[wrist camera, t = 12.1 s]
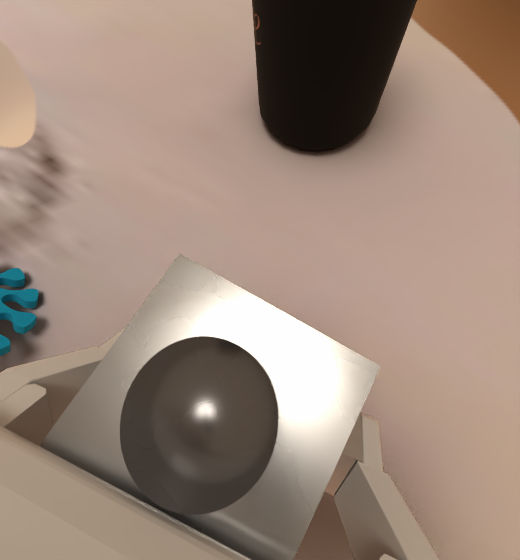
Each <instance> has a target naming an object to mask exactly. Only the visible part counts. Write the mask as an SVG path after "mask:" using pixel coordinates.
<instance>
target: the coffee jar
mask: <svg viewBox="0 0 520 560" xmlns="http://www.w3.org/2000/svg"><path fill="white" fill-rule="evenodd" d="M416 1H417V0H252V6H253V21H254V36H255V51H256V65H257V80H258V95H259V106H260V112H261V116H262V118H263V120H264V121H265V123H266V125H267V126H268V128H269V129H270V131H271V132H272V133H274V135H275V136H276V137H277V138H279V139H280V140H281V141H282V142H284V143H285V144H287V145H289V146H292V147H294V148H297V149H299V150H306V151H315V152H318V151H325V150H332V149H335V148H337V147H340V146H342V145H344V144H347V143H348V142H349V141H351V140H353V139H354V138H355V137H356V136H358V135H359V134H360V133H361V132H362V131H364V130H365V129H366V128H367V127H368V125H369V123H370V122H371V120H372V118H373V116H374V115H375V113H376V110H377V107H378V105H379V102H380V99H381V96H382V94H383V91H384V88H385V86H386V83H387V80H388V78H389V75H390V72H391V69H392V67H393V64H394V61H395V59H396V56H397V53H398V50H399V48H400V45H401V42H402V40H403V37H404V34H405V31H406V29H407V26H408V23H409V21H410V18H411V15H412V12H413V10H414V7H415V4H416Z"/></svg>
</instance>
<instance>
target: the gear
mask: <svg viewBox="0 0 520 560" xmlns="http://www.w3.org/2000/svg"><path fill="white" fill-rule="evenodd" d="M0 285H6V286H11V287H21V286H24V285H25V275H24V273H23V272H22V271H21V270H20V269H19V268H12V269H9V270H7V271H5V272H3V273H0ZM8 301H14V302H17V303H18V304H20V305H21V306H22V307H25V308H35V307H36V305H37V302H38V290H36V289H25V290H7V289H2V288H0V320H3V319H6V320H9V321H11V322H12V324H13V329H14V331H15V332H17V333H20V334H25V333H26V332H28V331H29V330H31V329H32V328H33V327H34V326H35V324H36V319H37V317H36V315H34V314H32V313H27V312H19V311H16V310H13V309H11V308H9V307H8V306H6V305H5V304H4V303H5V302H8ZM8 352H10V340H9V339H8V338H7V337H5V336H2V335H1V334H0V356H1V355H4V354H6V353H8Z"/></svg>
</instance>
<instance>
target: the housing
mask: <svg viewBox="0 0 520 560" xmlns="http://www.w3.org/2000/svg"><path fill="white" fill-rule="evenodd" d="M380 367H381V366H379V365H377V364H375V363H374V362H372V361H370V360H368V359H367V358H365V357H363V356H361V355H359V354H358V353H356V352H354V351H352V350H351V349H349V348H347V347H345V346H343V345H342V344H340V343H338V342H336V341H335V340H333V339H331V338H329V337H327V336H326V335H324V334H322V333H320V332H319V331H317V330H315V329H313V328H311V327H310V326H308V325H306V324H304V323H303V322H301V321H299V320H297V319H295V318H294V317H292V316H290V315H288V314H286V313H285V312H283V311H281V310H279V309H278V308H276V307H274V306H272V305H270V304H269V303H267V302H265V301H263V300H262V299H260V298H258V297H256V296H254V295H253V294H251V293H249V292H247V291H246V290H244V289H242V288H240V287H238V286H237V285H235V284H233V283H231V282H230V281H228V280H226V279H224V278H222V277H221V276H219V275H217V274H215V273H213V272H212V271H210V270H208V269H206V268H205V267H203V266H201V265H199V264H197V263H196V262H194V261H192V260H190V259H189V258H187V257H185V256H183V255H181V254H179V256H178V257H177V258H176V260H175V261H174V262H173V264H172V265H171V266H170V268H169V269H168V271H167V272H166V273H165V275H164V276H163V277H162V279H161V280H160V281H159V283H158V284H157V286H156V287H155V288H154V290H153V291H152V292H151V294H150V295H149V296H148V298H147V299H146V301H145V302H144V303H143V305H142V306H141V307H140V309H139V310H138V311H137V313H136V314H135V316H134V317H133V318H132V320H131V321H130V322H129V324H128V325H127V326H126V328H125V329H124V331H123V332H122V333H121V335H120V336H119V337H118V339H117V340H116V341H115V343H114V344H113V346H112V347H111V348H110V350H109V351H108V352H107V354H106V355H105V356H104V358H103V359H102V361H101V362H100V363H99V365H98V366H97V367H96V369H95V370H94V372H93V373H92V374H91V376H90V377H89V378H88V380H87V381H86V382H85V384H84V385H83V387H82V388H81V389H80V391H79V392H78V393H77V395H76V396H75V397H74V399H73V400H72V402H71V403H70V404H69V406H68V407H67V408H66V410H65V411H64V412H63V414H62V415H61V417H60V418H59V419H58V421H57V422H56V423H55V425H54V426H53V427H52V429H51V430H50V432H49V433H48V434H47V436H46V437H45V438H44V440H43V441H42V442H41V444H40V445H39V446H40V447H42V448H44V449H46V450H48V451H50V452H51V453H53V454H55V455H57V456H59V457H61V458H63V459H64V460H66V461H68V462H70V463H72V464H74V465H76V466H78V467H79V468H81V469H83V470H85V471H87V472H89V473H91V474H93V475H94V476H96V477H98V478H100V479H102V480H104V481H106V482H108V483H109V484H111V485H113V486H115V487H117V488H119V489H121V490H123V491H124V492H126V493H128V494H130V495H132V496H134V497H136V498H137V499H139V500H141V501H143V502H145V503H147V504H149V505H151V506H152V507H154V508H156V509H158V510H160V511H162V512H164V513H166V514H167V515H169V516H171V517H173V518H175V519H177V520H179V521H180V522H182V523H184V524H186V525H188V526H190V527H192V528H194V529H195V530H197V531H199V532H201V533H203V534H205V535H207V536H209V537H210V538H212V539H214V540H216V541H218V542H220V543H222V544H223V545H225V546H227V547H229V548H231V549H233V550H235V551H237V552H238V553H240V554H242V555H244V556H246V557H248V558H250V559H252V560H294V558H295V556H296V553H297V551H298V549H299V547H300V544H301V542H302V540H303V538H304V536H305V533H306V531H307V529H308V527H309V524H310V522H311V520H312V518H313V516H314V513H315V511H316V509H317V507H318V504H319V502H320V500H321V498H322V496H323V493H324V491H325V489H326V487H327V485H328V482H329V480H330V478H331V476H332V473H333V471H334V469H335V467H336V465H337V462H338V460H339V458H340V456H341V453H342V451H343V449H344V447H345V445H346V442H347V440H348V438H349V436H350V433H351V431H352V429H353V427H354V425H355V422H356V420H357V418H358V416H359V413H360V411H361V409H362V407H363V405H364V402H365V400H366V398H367V396H368V393H369V391H370V389H371V387H372V385H373V382H374V380H375V378H376V376H377V373H378V371H379V369H380Z"/></svg>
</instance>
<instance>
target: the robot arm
mask: <svg viewBox="0 0 520 560" xmlns="http://www.w3.org/2000/svg"><path fill="white" fill-rule="evenodd" d="M125 328H126V327H125ZM125 328H124V329H125ZM124 329H123V330H121V331H120V332H119V333H117V334H116V335H115V336H113V337H112V338H111V339H109V340H108V341H107V342H105V343H104V344H103V345H101V346H100V347H99V348H97V347H95V346H94V347H90V348H86V349H82V350H78V351H74V352H70V353H66V354H62V355H58V356H54V357H50V358H46V359H42V360H38V361H34V362H30V363H26V364H22V365H18V366H14V367H10V368H7V369H5V370H4V371H2V372H0V560H252V559H250V558H248V557H246V556H244V555H242V554H240V553H238V552H237V551H235V550H233V549H231V548H229V547H227V546H225V545H223V544H222V543H220V542H218V541H216V540H214V539H212V538H210V537H209V536H207V535H205V534H203V533H201V532H199V531H197V530H195V529H194V528H192V527H190V526H188V525H186V524H184V523H182V522H180V521H179V520H177V519H175V518H173V517H171V516H169V515H167V514H166V513H164V512H162V511H160V510H158V509H156V508H154V507H152V506H151V505H149V504H147V503H145V502H143V501H141V500H139V499H137V498H136V497H134V496H132V495H130V494H128V493H126V492H124V491H123V490H121V489H119V488H117V487H115V486H113V485H111V484H109V483H108V482H106V481H104V480H102V479H100V478H98V477H96V476H94V475H93V474H91V473H89V472H87V471H85V470H83V469H81V468H79V467H78V466H76V465H74V464H72V463H70V462H68V461H66V460H64V459H63V458H61V457H59V456H57V455H55V454H53V453H51V452H50V451H48V450H46V449H44V448H42V447H40V446H39V445H40V444H41V442H42V441H43V440H44V438H45V437H46V436H47V434H48V433H49V432H50V430H51V429H52V427H53V426H54V425H55V423H56V422H57V421H58V419H59V418H60V417H61V415H62V414H63V412H64V411H65V410H66V408H67V407H68V406H69V404H70V403H71V402H72V400H73V399H74V397H75V396H76V395H77V393H78V392H79V391H80V389H81V388H82V387H83V385H84V384H85V382H86V381H87V380H88V378H89V377H90V376H91V374H92V373H93V372H94V370H95V369H96V367H97V366H98V365H99V363H100V362H101V361H102V359H103V358H104V356H105V355H106V354H107V352H108V351H109V350H110V348H111V347H112V346H113V344H114V343H115V341H116V340H117V339H118V337H119V336H120V335H121V333H122V332H123V331H124ZM324 492H326V493H328V494H330V495H332V496H334V501H335V504H336V507H337V510H338V513H339V516H340V518H341V521H342V524H343V527H344V530H345V533H346V536H347V539H348V542H349V545H350V548H351V551H352V554H353V557H354V560H439V558H438V557H437V555H436V553H435V552H434V550H433V548H432V547H431V545H430V543H429V542H428V540H427V538H426V537H425V535H424V533H423V531H422V530H421V528H420V526H419V525H418V523H417V521H416V520H415V518H414V516H413V515H412V513H411V511H410V510H409V508H408V506H407V505H406V503H405V501H404V500H403V498H402V496H401V495H400V493H399V491H398V489H397V488H396V486H395V484H394V483H393V481H392V479H391V478H390V476H389V474H386V473H384V472H383V464H382V452H381V441H380V430H379V422H378V420H377V419H376V418H373V417H371V416H368V415H365V414H363V413H359V416H358V418H357V420H356V422H355V425H354V427H353V429H352V431H351V433H350V436H349V438H348V440H347V442H346V445H345V447H344V449H343V451H342V453H341V456H340V458H339V460H338V462H337V465H336V467H335V469H334V471H333V473H332V476H331V478H330V480H329V482H328V485H327V487H326V489H325V491H324Z"/></svg>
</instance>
